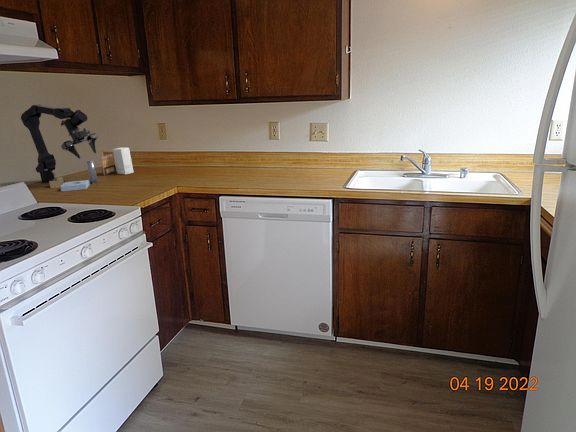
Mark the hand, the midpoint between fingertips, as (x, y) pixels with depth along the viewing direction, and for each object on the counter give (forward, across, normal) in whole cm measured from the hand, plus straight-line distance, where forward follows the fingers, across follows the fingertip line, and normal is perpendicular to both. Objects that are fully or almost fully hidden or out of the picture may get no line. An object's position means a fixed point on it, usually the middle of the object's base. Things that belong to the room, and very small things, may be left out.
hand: (87, 155), depth 230 cm
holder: (+14, -14, +2) cm, 19 cm away
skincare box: (+14, +22, +16) cm, 31 cm away
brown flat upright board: (+10, +17, +22) cm, 30 cm away
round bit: (+14, -2, +5) cm, 15 cm away
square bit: (+8, -16, +16) cm, 24 cm away
